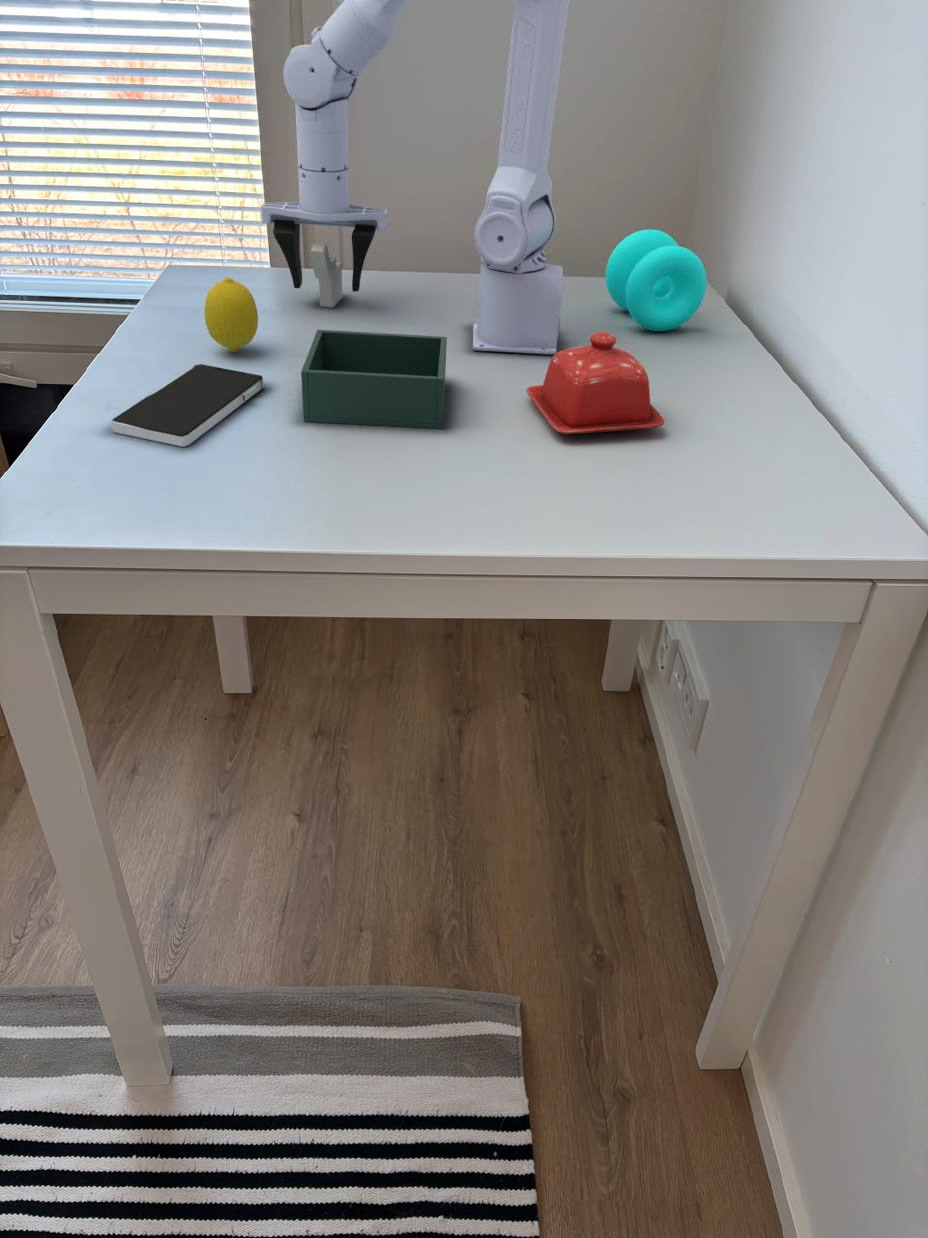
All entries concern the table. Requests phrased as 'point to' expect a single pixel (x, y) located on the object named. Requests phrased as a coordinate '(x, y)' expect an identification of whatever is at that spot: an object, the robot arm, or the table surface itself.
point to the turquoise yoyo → (655, 280)
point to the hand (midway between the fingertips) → (327, 287)
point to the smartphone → (188, 405)
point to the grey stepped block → (327, 275)
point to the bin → (375, 379)
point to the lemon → (231, 314)
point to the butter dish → (595, 390)
